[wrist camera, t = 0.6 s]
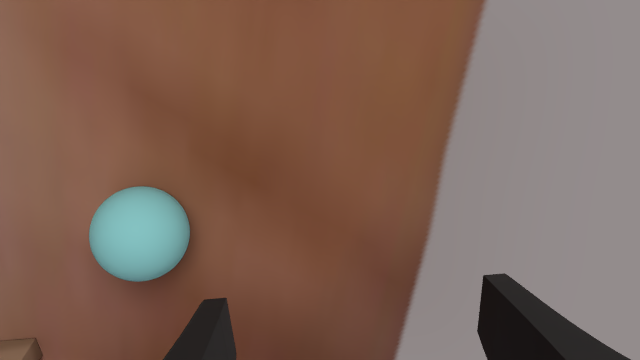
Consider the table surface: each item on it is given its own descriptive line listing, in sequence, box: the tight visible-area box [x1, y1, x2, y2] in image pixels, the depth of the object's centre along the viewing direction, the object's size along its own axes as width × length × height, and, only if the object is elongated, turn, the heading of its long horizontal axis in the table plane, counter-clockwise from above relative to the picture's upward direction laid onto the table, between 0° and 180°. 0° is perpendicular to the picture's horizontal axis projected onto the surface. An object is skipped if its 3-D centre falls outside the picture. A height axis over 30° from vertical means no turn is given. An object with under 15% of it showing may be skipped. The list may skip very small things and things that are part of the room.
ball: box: [89, 186, 190, 282], centre depth 21 cm, size 4×4×4 cm
